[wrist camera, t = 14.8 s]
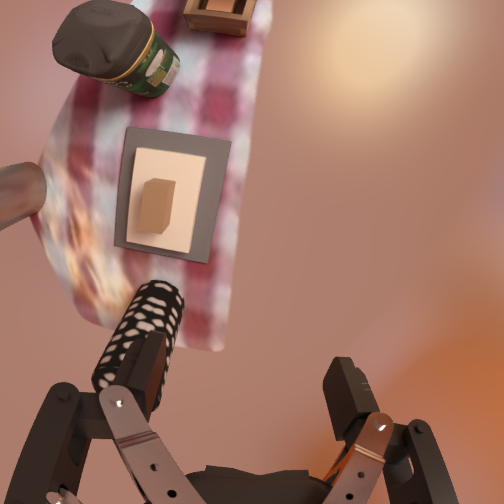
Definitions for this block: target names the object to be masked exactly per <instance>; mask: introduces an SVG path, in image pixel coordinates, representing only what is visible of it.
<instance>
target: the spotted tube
mask: <svg viewBox="0 0 504 504" xmlns="http://www.w3.org/2000/svg"><path fill="white" fill-rule="evenodd" d="M184 307H185V305H184V299H183V296H182V294H181V293H180V291H179V290H178V289H177V288H176V287H175V286H173V285H172V284H170V283H168V282H166V281H162V280H151V281H148V282H146V283H144V284H143V285H142V286H141V287H140V288H139V290H138V291H137V293H136V295H135V296H134V298H133V300H132V302H131V303H130V305H129V307H128V309H127V310H126V312H125V314H124V316H123V317H122V319H121V321H120V323H119V324H118V326H117V328H116V330H115V332H114V334H113V335H112V337H111V339H110V341H109V343H108V345H107V347H106V348H105V350H104V352H103V354H102V357H101V358H100V360H99V362H98V364H97V366H96V368H95V370H94V372H93V374H92V378H91V380H92V385H93V387H94V389H95V391H96V392H101V391H102V390H103V389H104V388H106V387H108V386H110V385H111V384H112V382H113V380H114V378H115V375H116V373H117V371H118V369H119V367H120V364H121V362H122V360H123V358H124V356H125V354H126V352H127V350H128V347H129V345H130V344H131V343H132V342H133V341H135V340H136V339H137V338H140V339H145V340H146V338H147V336H148V333H149V331H150V330H155V331H159V332H164V333H166V361H165V367H164V370H163V374H162V377H161V380H160V384H159V387H158V391H157V394H156V398H155V401H154V405H153V408H152V412H153V411H155V410H156V409H157V408H158V406H159V404H160V400H161V396H162V392H163V388H164V384H165V379H166V375H167V371H168V367H169V364H170V359H171V355H172V352H173V348H174V344H175V341H176V337H177V333H178V329H179V326H180V322H181V318H182V315H183V311H184Z"/></svg>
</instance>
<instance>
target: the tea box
mask: <svg viewBox="0 0 504 504" xmlns="http://www.w3.org/2000/svg"><path fill="white" fill-rule="evenodd" d="M256 1H257V0H188V1H187V4H186V6H185V9H184V12H183V15H184V17H185V19H186V21H187V24H188V26H189V28H190V30H201V31H210V32H218V33H225V34H232V35H238V36H244V37H246V35H247V32H248V28H249V25H250V21H251V18H252V14H253V11H254V8H255V4H256Z"/></svg>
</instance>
